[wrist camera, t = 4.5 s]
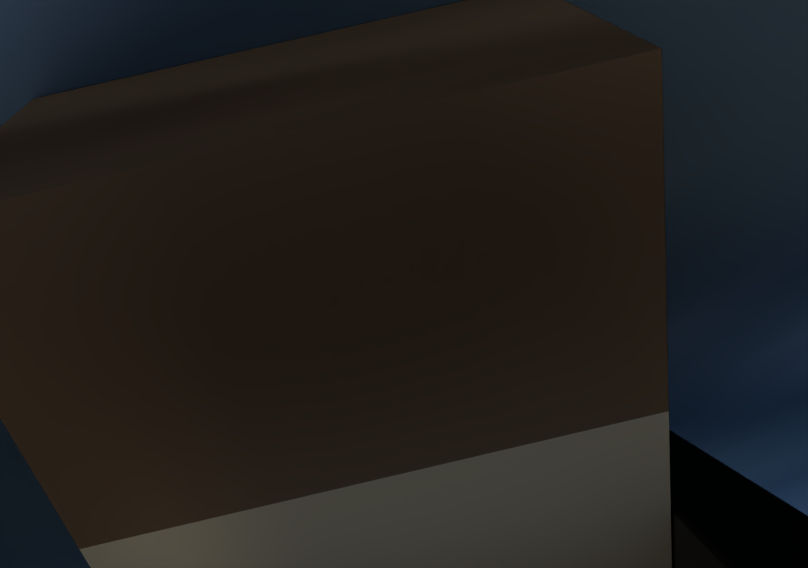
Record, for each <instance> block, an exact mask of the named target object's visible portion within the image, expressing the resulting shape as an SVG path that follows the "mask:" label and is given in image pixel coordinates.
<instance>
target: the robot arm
mask: <svg viewBox="0 0 808 568" xmlns="http://www.w3.org/2000/svg"><path fill="white" fill-rule="evenodd" d="M669 447H670V499H671V551H672V568H808V516H807V515H805V514H804V513H802V512H801V511H799V510H797V509H796V508H794V507H793V506H791V505H789V504H788V503H786V502H785V501H783V500H781V499H780V498H778V497H777V496H775V495H773V494H772V493H770V492H768V491H767V490H765V489H764V488H762V487H760V486H759V485H757V484H756V483H754V482H752V481H751V480H749V479H748V478H746V477H744V476H743V475H741V474H740V473H738V472H736V471H735V470H733V469H732V468H730V467H728V466H727V465H725V464H723V463H722V462H720V461H719V460H717V459H715V458H714V457H712V456H711V455H709V454H707V453H706V452H704V451H703V450H701V449H699V448H698V447H696V446H695V445H693V444H691V443H690V442H688V441H687V440H685V439H683V438H682V437H680V436H678V435H677V434H675V433H674V432H672V431H670V430H669Z"/></svg>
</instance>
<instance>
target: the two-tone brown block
mask: <svg viewBox="0 0 808 568" xmlns="http://www.w3.org/2000/svg"><path fill="white" fill-rule="evenodd" d="M0 419H1V421H2V422H3V424H4V426H5V427H6V429H7V431H8V432H9V434H10V435H11V437H12V439H13V440H14V442H15V444H16V445H17V447H18V449H19V450H20V452H21V454H22V455H23V457H24V459H25V460H26V462H27V464H28V465H29V467H30V469H31V470H32V472H33V473H34V475H35V477H36V478H37V480H38V482H39V483H40V485H41V487H42V488H43V490H44V492H45V493H46V495H47V497H48V498H49V500H50V502H51V503H52V505H53V506H54V508H55V510H56V511H57V513H58V515H59V516H60V518H61V520H62V521H63V523H64V525H65V526H66V528H67V530H68V531H69V533H70V535H71V536H72V538H73V540H74V541H75V543H76V544H77V546H78V548H79V549H80V551H81V553H82V554H83V556H84V558H85V559H86V561H87V563H88V564H89V566H90V568H672V551H671V499H670V447H669V395H668V343H667V291H666V239H665V187H664V135H663V83H662V49H661V48H659V47H657V46H655V45H653V44H651V43H649V42H647V41H645V40H643V39H641V38H639V37H637V36H635V35H633V34H631V33H629V32H627V31H625V30H623V29H621V28H619V27H617V26H615V25H613V24H611V23H609V22H607V21H605V20H603V19H601V18H599V17H597V16H595V15H593V14H591V13H589V12H587V11H585V10H582V9H580V8H578V7H576V6H574V5H572V4H570V3H568V2H566V1H564V0H465V1H461V2H456V3H452V4H448V5H443V6H439V7H434V8H430V9H426V10H421V11H417V12H412V13H408V14H404V15H399V16H395V17H390V18H386V19H382V20H377V21H373V22H368V23H364V24H360V25H355V26H351V27H346V28H342V29H338V30H333V31H329V32H325V33H320V34H316V35H311V36H307V37H303V38H298V39H294V40H289V41H285V42H281V43H276V44H272V45H267V46H263V47H259V48H254V49H250V50H245V51H241V52H237V53H232V54H228V55H223V56H219V57H215V58H210V59H206V60H201V61H197V62H193V63H188V64H184V65H179V66H175V67H171V68H166V69H162V70H157V71H153V72H149V73H144V74H140V75H135V76H131V77H127V78H122V79H118V80H113V81H109V82H105V83H100V84H96V85H91V86H87V87H83V88H78V89H74V90H70V91H65V92H61V93H56V94H52V95H48V96H43V97H39V98H34V99H32V100H31V101H30V102H29V103H28V104H26V105H25V106H24V107H23V108H22V109H21V110H19V111H18V112H17V113H16V114H15V115H14V116H13V117H11V118H10V119H9V120H8V121H7V122H6V123H4V124H3V125H2V126H1V127H0Z"/></svg>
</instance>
